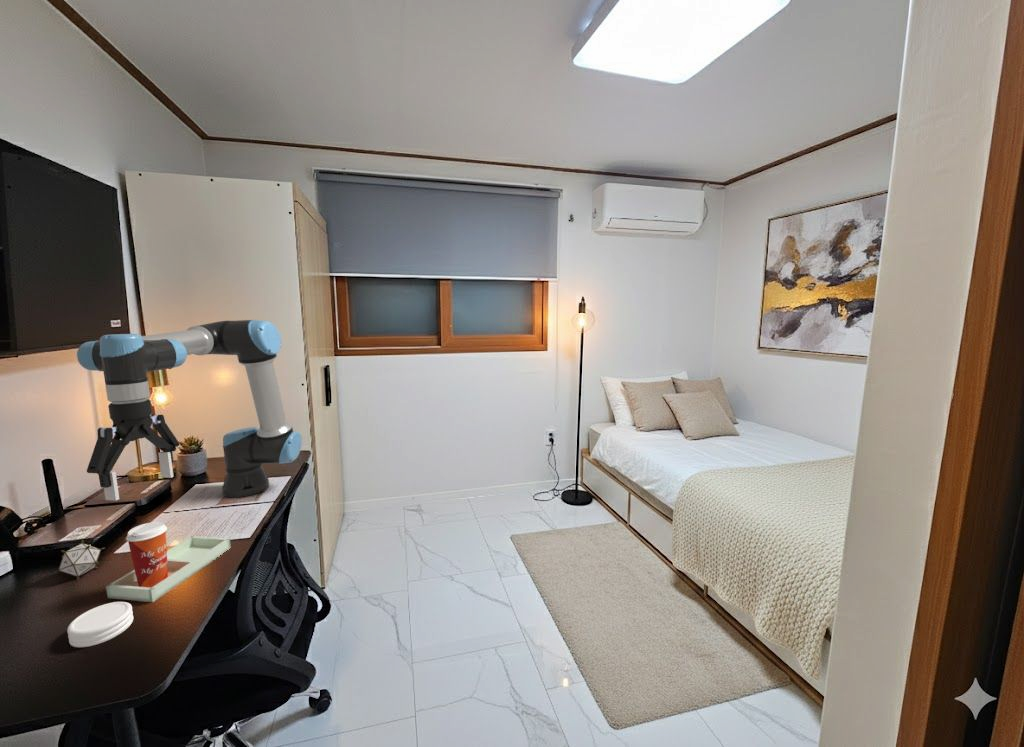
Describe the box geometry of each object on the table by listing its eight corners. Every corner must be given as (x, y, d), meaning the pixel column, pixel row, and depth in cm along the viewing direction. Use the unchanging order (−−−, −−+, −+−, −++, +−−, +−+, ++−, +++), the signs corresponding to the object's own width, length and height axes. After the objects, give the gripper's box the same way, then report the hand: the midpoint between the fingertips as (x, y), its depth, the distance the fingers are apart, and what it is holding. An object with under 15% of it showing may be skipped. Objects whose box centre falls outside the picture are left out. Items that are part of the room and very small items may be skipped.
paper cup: (150, 593, 103) (142, 537, 101) (124, 589, 105) (116, 534, 103) (181, 574, 111) (174, 521, 109) (156, 571, 112) (149, 519, 111)
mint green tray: (193, 546, 126) (191, 536, 126) (230, 548, 124) (229, 538, 124) (107, 598, 103) (106, 586, 103) (152, 602, 101) (151, 590, 101)
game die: (75, 592, 112) (36, 575, 105) (86, 565, 118) (49, 548, 112) (110, 571, 113) (73, 553, 107) (118, 545, 120) (84, 527, 113)
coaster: (83, 622, 95) (81, 607, 95) (141, 610, 99) (139, 595, 98) (58, 655, 86) (55, 639, 86) (122, 639, 90) (120, 624, 89)
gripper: (164, 390, 115) (174, 468, 118) (53, 412, 91) (69, 510, 94) (189, 391, 114) (199, 469, 117) (84, 413, 90) (100, 511, 92)
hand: (141, 487), depth 105 cm, fingers open, 13 cm apart
